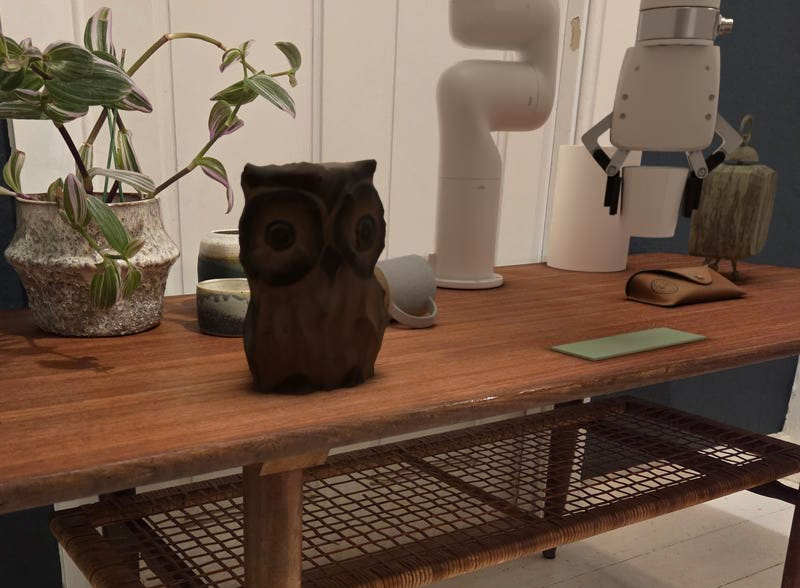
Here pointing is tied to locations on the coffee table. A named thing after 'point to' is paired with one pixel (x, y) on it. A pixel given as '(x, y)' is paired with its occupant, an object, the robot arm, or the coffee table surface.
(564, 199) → the canister
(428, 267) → the ceramic mug
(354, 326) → the owl
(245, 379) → the coffee table surface
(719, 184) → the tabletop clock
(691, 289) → the sunglasses case
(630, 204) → the white tapered cup
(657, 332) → the edge strip
